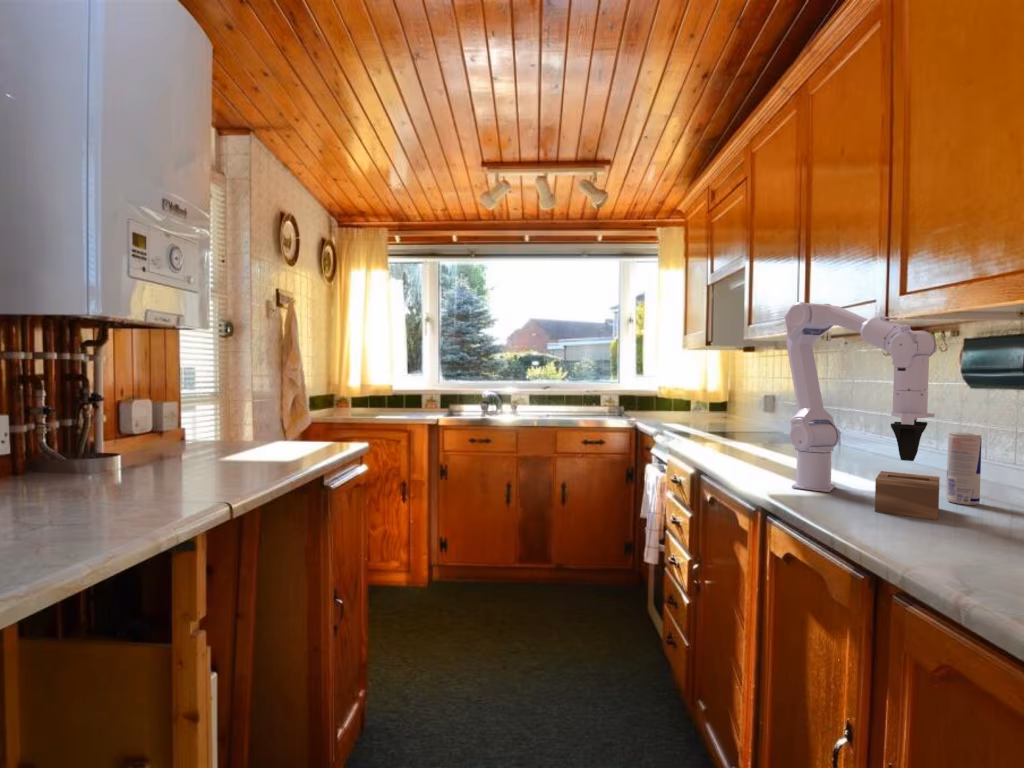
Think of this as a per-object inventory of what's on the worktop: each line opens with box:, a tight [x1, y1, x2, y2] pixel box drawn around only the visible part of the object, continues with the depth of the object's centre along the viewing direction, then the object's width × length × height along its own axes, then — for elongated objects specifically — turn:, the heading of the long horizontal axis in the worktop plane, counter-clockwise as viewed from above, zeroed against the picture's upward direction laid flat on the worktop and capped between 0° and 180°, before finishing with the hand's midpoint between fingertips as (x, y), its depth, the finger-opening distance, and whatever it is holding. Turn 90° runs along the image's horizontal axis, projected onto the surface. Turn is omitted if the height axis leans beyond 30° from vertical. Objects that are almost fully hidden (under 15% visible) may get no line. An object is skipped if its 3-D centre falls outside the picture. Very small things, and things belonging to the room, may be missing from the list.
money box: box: [874, 470, 941, 521], centre depth 114 cm, size 12×10×6 cm
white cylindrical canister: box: [945, 431, 982, 506], centre depth 122 cm, size 6×6×15 cm
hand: (908, 458), depth 114 cm, fingers open, 7 cm apart
